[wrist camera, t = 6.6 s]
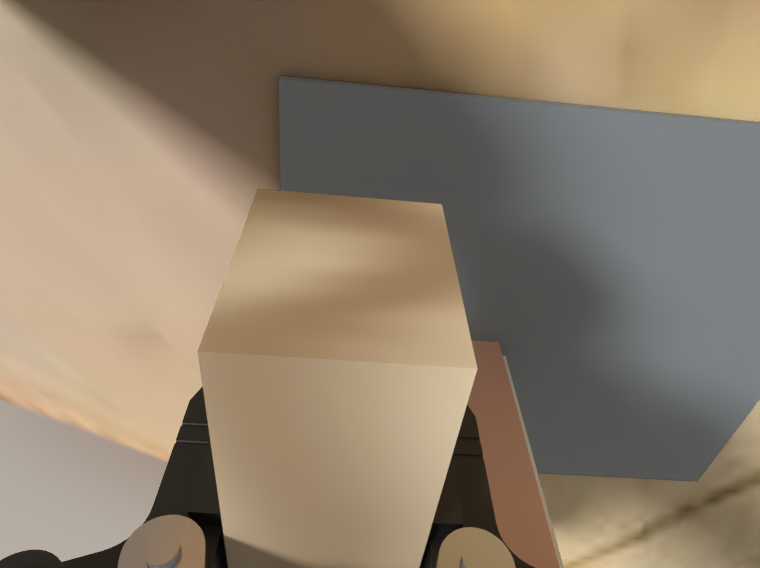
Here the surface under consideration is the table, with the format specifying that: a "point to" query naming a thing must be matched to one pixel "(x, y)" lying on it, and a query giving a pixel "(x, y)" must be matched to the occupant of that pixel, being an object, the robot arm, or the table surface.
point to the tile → (510, 461)
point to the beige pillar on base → (335, 381)
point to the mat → (572, 254)
